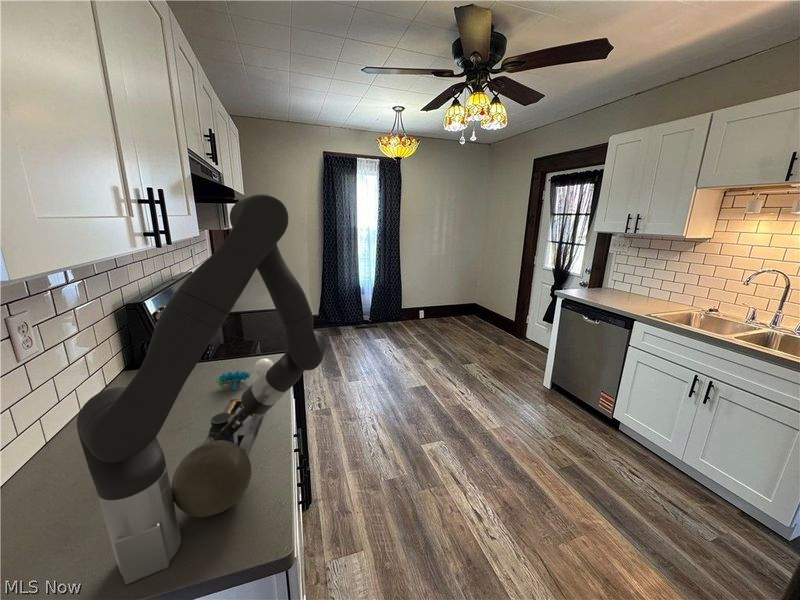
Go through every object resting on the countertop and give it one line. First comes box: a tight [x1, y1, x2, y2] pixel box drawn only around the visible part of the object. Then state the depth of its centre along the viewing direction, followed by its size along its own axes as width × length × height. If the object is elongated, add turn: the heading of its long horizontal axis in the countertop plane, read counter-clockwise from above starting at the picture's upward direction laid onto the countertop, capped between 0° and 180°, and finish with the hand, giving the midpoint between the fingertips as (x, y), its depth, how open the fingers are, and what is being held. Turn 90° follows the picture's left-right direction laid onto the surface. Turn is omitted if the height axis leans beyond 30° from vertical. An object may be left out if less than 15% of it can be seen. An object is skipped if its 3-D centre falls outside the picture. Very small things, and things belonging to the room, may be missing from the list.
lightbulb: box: [254, 357, 274, 377], centre depth 115 cm, size 6×6×11 cm
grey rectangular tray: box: [201, 398, 267, 457], centre depth 92 cm, size 28×12×3 cm, turn 9°
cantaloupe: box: [170, 440, 252, 518], centre depth 67 cm, size 14×14×15 cm
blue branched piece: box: [216, 370, 251, 392], centre depth 115 cm, size 11×6×10 cm
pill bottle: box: [208, 412, 239, 447], centre depth 83 cm, size 6×6×11 cm
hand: (226, 429), depth 82 cm, fingers open, 8 cm apart
